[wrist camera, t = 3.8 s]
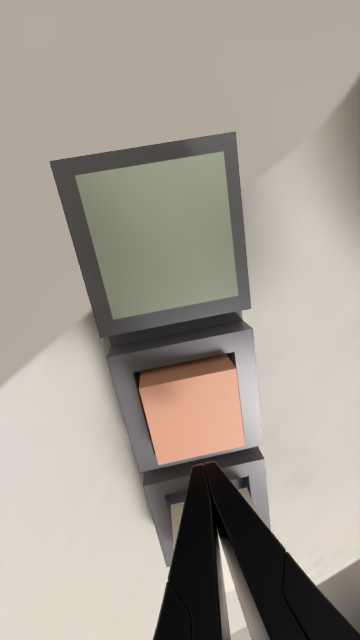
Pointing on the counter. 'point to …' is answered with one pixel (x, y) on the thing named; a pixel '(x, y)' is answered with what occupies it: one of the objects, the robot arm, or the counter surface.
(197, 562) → the robot arm
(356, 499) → the counter surface
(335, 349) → the counter surface
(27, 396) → the counter surface
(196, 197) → the sage button
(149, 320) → the button bank
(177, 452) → the terracotta button
